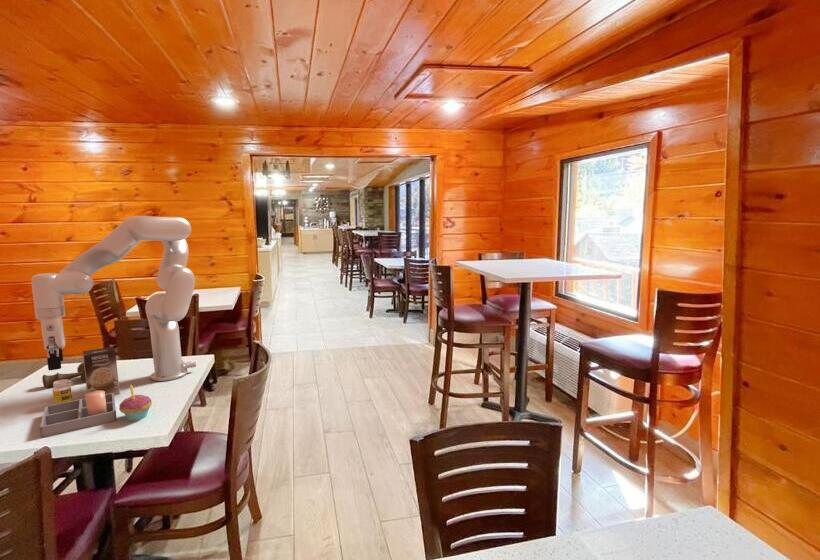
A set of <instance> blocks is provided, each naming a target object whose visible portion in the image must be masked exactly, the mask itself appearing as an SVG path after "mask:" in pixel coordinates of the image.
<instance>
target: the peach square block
mask: <svg viewBox="0 0 820 560" xmlns="http://www.w3.org/2000/svg"><path fill="white" fill-rule="evenodd" d="M84 396H85V397H84V398H86V405H87V413H88V416H93V415H97V414H102V413H107V407H106V399H105V391H93V392H90V393H87V392H86V394H85V395H84Z"/></svg>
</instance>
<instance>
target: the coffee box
mask: <svg viewBox="0 0 820 560" xmlns="http://www.w3.org/2000/svg"><path fill="white" fill-rule="evenodd" d="M116 353H117V352H116V348H115V347H114V346H109V347H102V348H96V349H88V350H83V351H82V358H83V362H84V368H85V377H86V382H85V385H86V394H87V393H90V392H93V391H105V394H109V393H114V396H117V395H121V392H120V382H119V381H120V380H119V374H118V365H117V362H118V361H117V354H116Z"/></svg>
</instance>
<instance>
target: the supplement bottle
mask: <svg viewBox="0 0 820 560" xmlns="http://www.w3.org/2000/svg"><path fill="white" fill-rule="evenodd" d="M69 381H70V380H68V379H63V380H58V381H55V382H53V385H52V386H53V388H52V396H53V404H59V403H64V402H69V401H73V396H72V395H73V394H72V388H71V385H70V382H69Z"/></svg>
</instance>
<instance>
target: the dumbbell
mask: <svg viewBox="0 0 820 560" xmlns="http://www.w3.org/2000/svg"><path fill="white" fill-rule="evenodd" d="M78 377H80V380H81V381H82V382H83V383H86V377H85V368H84V361H83V362H82V363H80V364H78V366H77V372H71V373H60V372H56V374H53V375H51V374H50V375H47V374H43V375H42V377H41V378H42V379H41V381H42V385H43V388H44V389H45V388H47V389H49V387H52V386H53V382H55V381H58V380H63V379H68V381H70V380H72V379H74V378H75V379H76V378H78Z"/></svg>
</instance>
